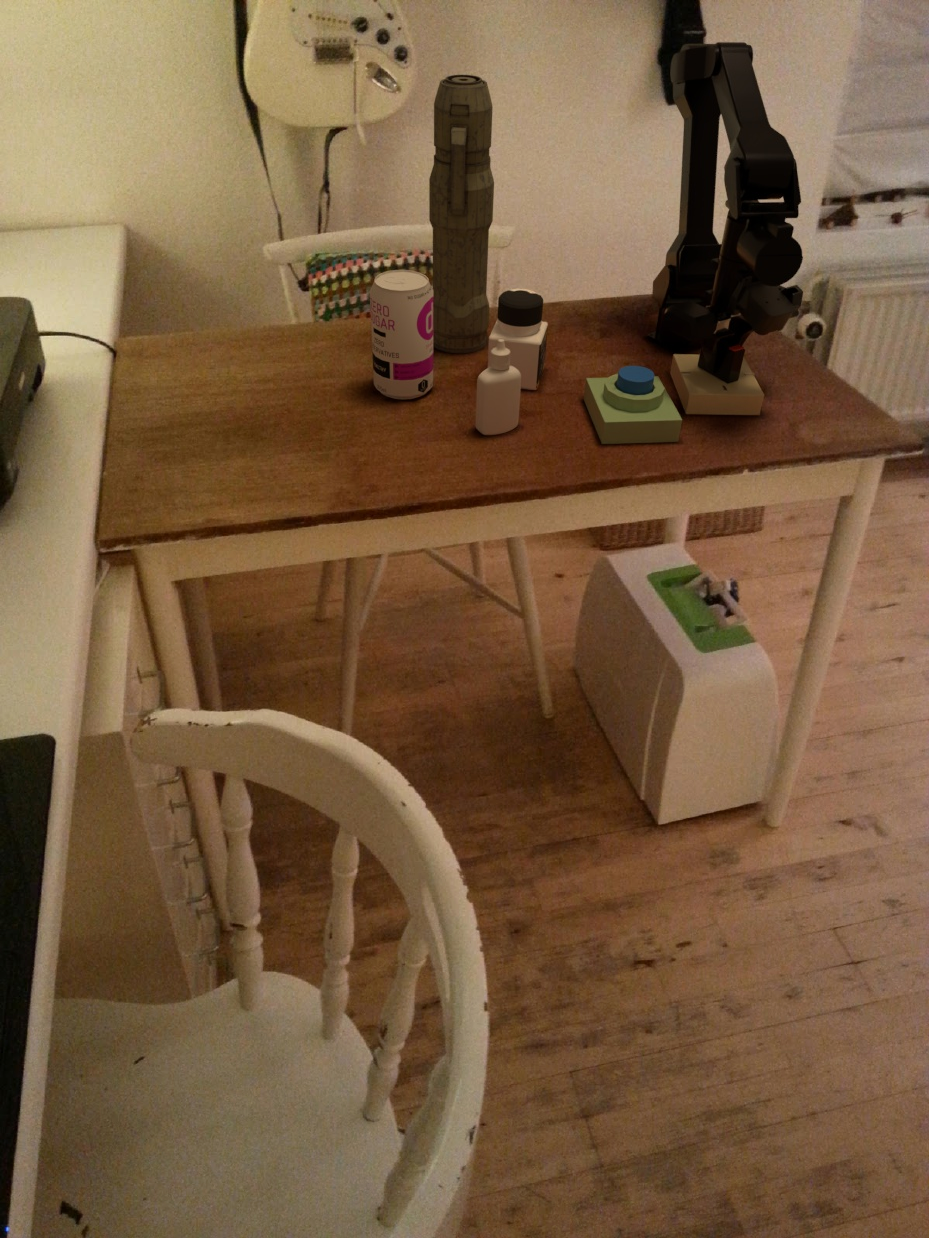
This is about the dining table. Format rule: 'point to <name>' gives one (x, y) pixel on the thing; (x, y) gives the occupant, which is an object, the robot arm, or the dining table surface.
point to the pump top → (635, 380)
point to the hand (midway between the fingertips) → (718, 370)
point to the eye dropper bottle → (498, 394)
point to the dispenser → (631, 413)
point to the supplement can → (402, 333)
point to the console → (714, 389)
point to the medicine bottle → (522, 334)
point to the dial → (726, 362)
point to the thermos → (461, 213)
